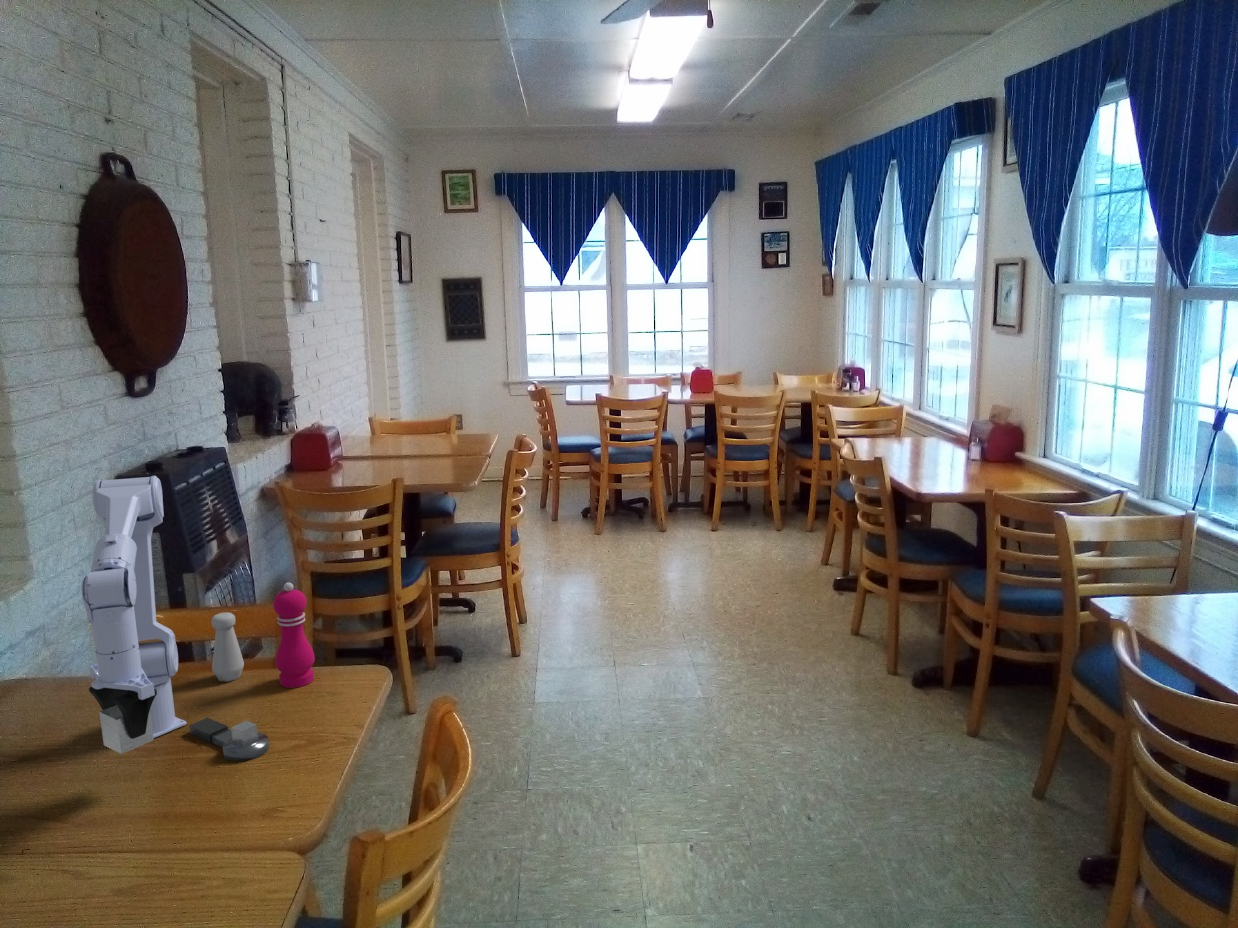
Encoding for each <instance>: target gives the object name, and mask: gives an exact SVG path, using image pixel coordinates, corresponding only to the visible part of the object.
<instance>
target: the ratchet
mask: <svg viewBox="0 0 1238 928" xmlns="http://www.w3.org/2000/svg"><path fill="white" fill-rule="evenodd" d="M188 727H189V733H190V735H191V736H194V737H196V738H199V739H200V740H203V741H206V742H207V743H209V744H211V743H212V744H214V745H215V746H218V747H221V748H222V752H223V758H224V759H225V760H227V761H231V762H245V761H250V760H251V761H252V760H253V759H256V758H259V757H261V756H263V755H264V754H265V753H267V752H268V750H269V748H270V741H269V737H268V735H267V734H265V733H262V732H258V725H257V724H256V723H253V722H251V721H249V720H245V721H242V722H240V723H238V724H235V725H232V726H231V727H230V728H231V729H229V726H228V725H226V724H224V723H221V722H219V721H216V720H214V719H211V718H210V717H205V718H203V719H200V720H199V721H196V722H194V723H191V724H189V726H188Z"/></svg>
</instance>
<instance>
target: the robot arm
mask: <svg viewBox="0 0 1238 928" xmlns="http://www.w3.org/2000/svg"><path fill="white" fill-rule="evenodd" d="M161 482H162V481H161V480H160V478H158V476H156V475H151V476H147V477H146V476H145V477H131V478H118V479H107V480H106V479H105V480H103V479H98V480H97V481H95V482H94V484H93V487H92V502H93V503H92V504H93V508H94V511H95V513H96V514H97V516H98V518H99V520H100V521H101V523H102V524H103V525H104V536H101V537H100V538H99V539H98V540H97V542H96V543H95V546H94V552H93V557H92V561H91V567H90V572H88V575H83V577H82V580H81V597H82V601H83V605H84V608H85V611H86V615H87V621H88V623H90V624H91V628H92V629H91V630H92V637H93V644H94V649H95V650H94V651H95V652H94V653H95V659H96V663H95V664H92V665H90V666H89V672H90V673H89V674H90V678H91V679H92V680H94V681H92V682H91V685H90V687H88V691H89V693H90V694H91V695H92V696H93V698H94V699H95V700H96V702H97V703H98V705H99V706H100V708H101V711H103V710H105V709H108V708H110V707H113V706H115V705H117V706H118V708H119V709H120V711H121V713H122V715H123V718H124V721H125V725H126V728H127V732H128V734H129V736H130V738H132V739H134V738H137V737H139V736H141V735H144V734H145V733H146V728H147V721H148V715H149V711H150V714H151V722H152V730H153V738H154V739H155V738H158V737H159V736H160V737H161V736H162V735H165V734H166V733H169V732H171V731H173V730H176V729H178V728H181V727H183V726H185V725H187V721H186V720H184V719H181V718H179V717H177V716H176V713H175V704H174V697H173V687H172V679H171V677H173V676H174V677H175V675H176V674H177V672H178V670H179V653H178V651H179V650H178V646H177V643H176V635H175V633H174V631H173V630H172V629H171V628H169V627H167V626H165V625H163V624H162V623H159V622H158V621H157V613H156V611H157V610H156V598H155V597H156V596H155V582H154V579H155V578H154V567H153V553H152V535H153V530H154V528H155V527H157V526H159V525H160V524H162V523H163V522H164V521H163V518H164V517H165V515H164V513H165V512H164V502H163V501H164V500H163V497H164V496H163V488H162V483H161ZM151 640H160V641H153V642H145V643H139V642H144V641H151Z"/></svg>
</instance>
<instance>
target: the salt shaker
mask: <svg viewBox="0 0 1238 928" xmlns="http://www.w3.org/2000/svg"><path fill="white" fill-rule="evenodd" d="M210 622H211V626H212V628H213V629H215V635H214V636H215V637H214V647H213V656H212V664H211V665H212V666H211V670H212V673H213V674H214V675H215V676H216V678H217V680H218V681H219V682H227V683H228V682H231V681H236V680H238V679H239V678H240V677H241V676H242V673H243V670H244V666H245V662H244V659H243V654H242V652H241V651H242V650H241V649H240V645H239V641H238V637H237V635H236V632H235V628H234V626H235V625H236V616H235V614H233V613H232V612H219V613H217V614H214V615H213V616H212V618H211V621H210Z"/></svg>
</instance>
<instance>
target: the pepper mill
mask: <svg viewBox="0 0 1238 928" xmlns="http://www.w3.org/2000/svg"><path fill="white" fill-rule="evenodd" d="M272 603H273V604H272V606H273V607H272V608H273V610H274V612H275V613H276V614H277V615H278V616H277V618H276V619H277V625H279V626H280V630H281V632H280V633H281V638H280V643H279V645H278V648H277V650H276V654H275V659H274V660H275V661H274V663H275V667H276V669H277V670H278V671H279V672H280V673H279V676H278V677H279V678H278V679H279V684H280V686H281V687H284V688H289V689H291V688H293V689H294V688H301V687H304V686H306V685H307V686H308V685H309V684H310V683H312V682H313V681H314V679H315V677H314V676H315V675H314V669H313V668H312V666H313V665H314V663H315V661H316V658H315V657H316V656H315V653H314V650H313V647H312V645H311V643H309V641H308V638H307V637H306V634H305V630H304V623H305V621H306V618H305V616H306V613H305V612H304V611H305V609H306V607H307V598H306V596H305V594H304V593H303V592H302V591H301V590H298V589H294V585H293V583H291V582H286V583H284V585H283V590H281V591H280V592H278V593H277V594H276V595H275V597H274V599H273V602H272Z"/></svg>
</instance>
